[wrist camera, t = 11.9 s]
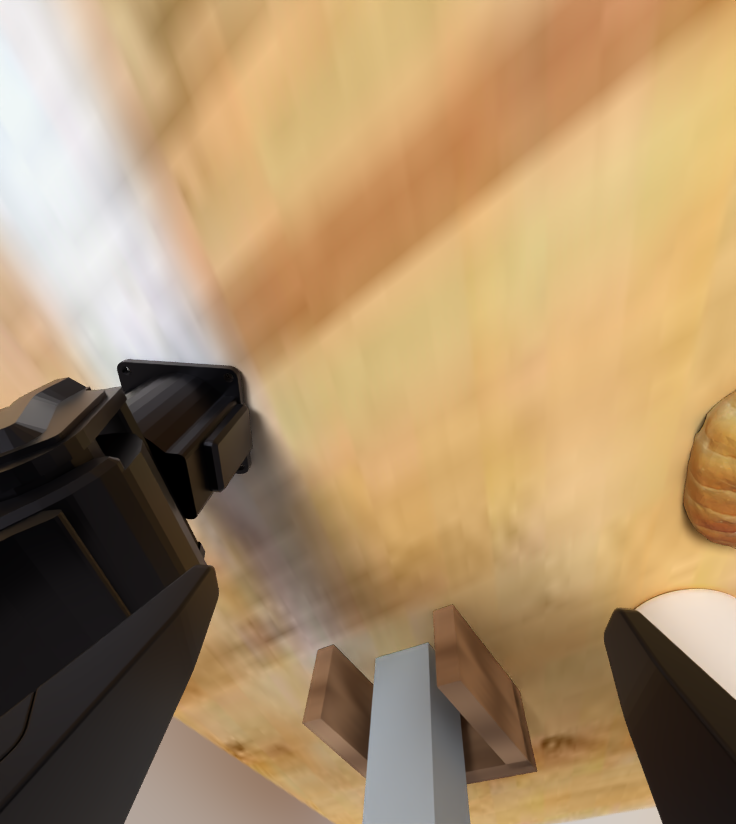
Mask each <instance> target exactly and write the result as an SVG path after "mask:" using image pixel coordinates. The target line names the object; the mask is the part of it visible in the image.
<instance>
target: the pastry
mask: <svg viewBox="0 0 736 824" xmlns="http://www.w3.org/2000/svg"><path fill="white" fill-rule="evenodd" d="M684 507H685V510H686V512H687V515H688V518H689V520H690V521H691V523H692V524H693V526H694V527H695V529H696V530H697V531H698V532H699V533H701V534H702V535H704V536H705V537H706V538H707V539H708V540H710V541H712V542H715V543H718V544H722V545H728V546H731V547H733V548H735V549H736V391H735V392H733V393H731V394H729V395H728V396H726V397H725V398H724V399H722V400H721V401H720V402H719V403H718V404H716V405H715V406H714V407H713V408H712V409H711V410H710V411H709V412H708V413H707V417H706V420H705V422H704V425H703V427H702V429H701V430H700V431H699V433H697V434H696V436H695V440H694V444H693V447H692V450H691V457H690V460H689V463H688V472H687V479H686V484H685V492H684Z"/></svg>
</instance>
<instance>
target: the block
mask: <svg viewBox="0 0 736 824" xmlns="http://www.w3.org/2000/svg"><path fill="white" fill-rule="evenodd" d="M362 824H470V815H469V804H468V794H467V783H466V772H465V762H464V751H463V741H462V730H461V719H460V712H459V711H458V710H457V709H456V708H455V706H454V705H453V704H452V703H451V702H450V701H449V700H448V698H447V697H446V696H445V695H444V694H443V693H442V692H441V691H440V689H439V688H438V687H437V678H436V658H435V650H434V649H433V648H432V647H431V645H430V644H429V643H425V644H421V645H418V646H415V647H411V648H408V649H405V650H401V651H398V652H395V653H391V654H388V655H385V656H381V657H378V658H376V662H375V674H374V686H373V699H372V711H371V724H370V736H369V749H368V761H367V774H366V786H365V799H364V811H363V823H362Z"/></svg>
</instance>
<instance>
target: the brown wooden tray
mask: <svg viewBox="0 0 736 824" xmlns="http://www.w3.org/2000/svg"><path fill="white" fill-rule="evenodd" d="M433 620H434V639H435V658H436V678H437V687H438V688H439V689H440V691H441V692H442V693H443V694H444V695H445V696H446V697H447V698H448V700H449V701H450V702H451V703H452V704H453V705H454V706H455V708H456V709H457V710H458V711H459V712H460V719H461V730H462V741H463V751H464V762H465V772H466V783H467V784H471V783H477V782H482V781H488V780H493V779H499V778H504V777H510V776H515V775H521V774H526V773H532V772H537V767H536V763H535V758H534V754H533V749H532V745H531V740H530V736H529V731H528V727H527V722H526V718H525V713H524V709H523V704H522V700H521V695H520V691H519V690H518V688H517V687H516V686H515V685H514V683H513V682H512V681H511V679H510V678H509V677H508V676H507V674H506V673H505V672H504V670H503V669H502V668H501V666H500V665H499V664H498V663H497V661H496V660H495V659H494V657H493V656H492V655H491V654H490V652H489V651H488V650H487V648H486V647H485V646H484V644H483V643H482V642H481V641H480V639H479V638H478V637H477V635H476V634H475V633H474V632H473V630H472V629H471V628H470V626H469V625H468V624H467V622H466V621H465V620H464V619H463V617H462V616H461V615H460V613H459V612H458V611H457V610H456V608H455V607H454V606H453V604H452V605H449V606H446V607H444V608H441V609H438V610H435V611H433ZM373 686H374V685H373V684H372V683H371V682H370V681H369V680H368V679H367V678H366V677H365V676H364V675H363V674H362V673H361V672H360V671H359V670H358V669H357V668H356V667H355V666H354V665H353V664H352V663H351V662H350V661H349V660H348V659H347V658H346V657H345V656H344V655H343V654H342V653H341V652H340V651H339V650H338V649H337V648H336V647H335V646H334V645H331V646H328V647H325V648H322V649H320V650H318V652H317V657H316V661H315V666H314V671H313V675H312V680H311V685H310V690H309V694H308V699H307V704H306V708H305V713H304V718H303V724H304V725H305V726H306V727H307V728H308V729H310V730H311V731H312V732H313V733H314V734H315V735H316V736H318V737H319V738H320V739H321V740H322V741H323V742H324V743H326V744H327V745H328V746H329V747H330V748H331V749H332V750H334V751H335V752H336V753H337V754H338V755H339V756H341V757H342V758H343V759H344V760H345V761H346V762H347V763H349V764H350V765H351V766H352V767H353V768H354V769H355V770H357V771H358V772H359V773H360V774H361V775H362V776H363V777H365V778H366V774H367V761H368V749H369V736H370V724H371V711H372V699H373Z"/></svg>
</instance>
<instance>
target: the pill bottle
mask: <svg viewBox="0 0 736 824" xmlns="http://www.w3.org/2000/svg"><path fill="white" fill-rule="evenodd" d="M635 610H637V611H639V612H640V613H641V614H643V615H644V616H645V617H646V618H647V619H648V620H649V621H650V622H651V623H652V624H653V625H655V626H656V627H657V628H658V629H659V630H660V631H661V632H662V633H663V634H664V635H666V636H667V637H668V638H669V639H670V640H671V641H672V642H673V643H674V644H675V645H676V646H678V647H679V648H680V649H681V650H682V651H683V652H684V653H685V654H686V655H687V656H689V657H690V658H691V659H692V660H693V661H694V662H695V663H696V664H697V665H698V666H700V667H701V668H702V669H703V670H704V671H705V672H706V673H707V674H708V675H709V676H710V677H712V678H713V679H714V680H715V681H716V682H717V683H718V684H719V685H720V686H721V687H723V688H724V689H725V690H726V691H727V692H728V693H729V694H730V695H731V696H732V697H733V698H735V699H736V598H735V597H733V596H731V595H729V594H726V593H723V592H720V591H715V590H709V589H685V590H678V591H673V592H669V593H665V594H662V595H659V596H657V597H654V598H652V599H650V600H648V601H646V602H645V603H643V604H641V605H640V606H639V607H637V608H636V609H635Z"/></svg>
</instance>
